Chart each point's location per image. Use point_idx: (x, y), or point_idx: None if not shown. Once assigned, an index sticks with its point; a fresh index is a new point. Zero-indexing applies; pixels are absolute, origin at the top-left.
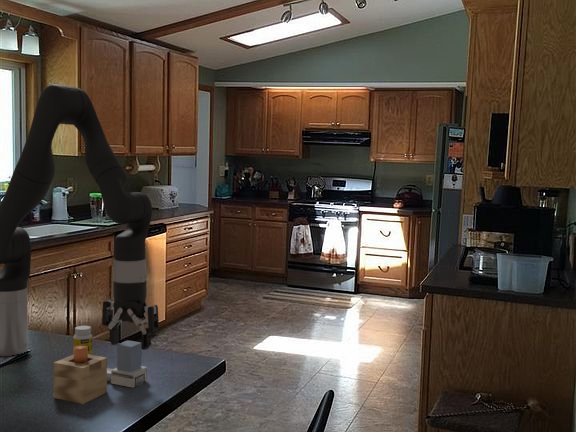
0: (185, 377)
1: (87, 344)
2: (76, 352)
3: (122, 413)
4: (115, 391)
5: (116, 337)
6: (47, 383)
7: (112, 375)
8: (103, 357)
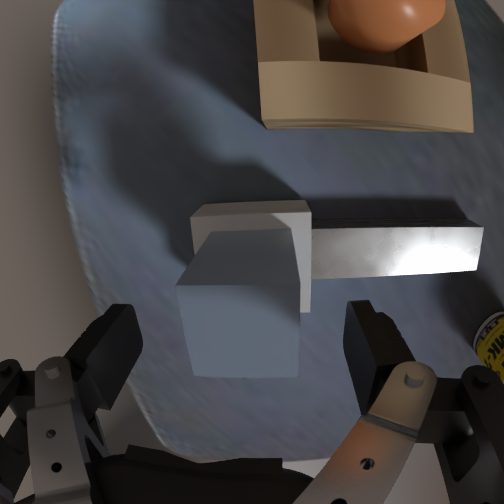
0: (144, 354)
1: (501, 358)
2: None
3: (103, 36)
4: (243, 150)
5: (354, 351)
6: (486, 120)
7: (302, 207)
8: (283, 110)
